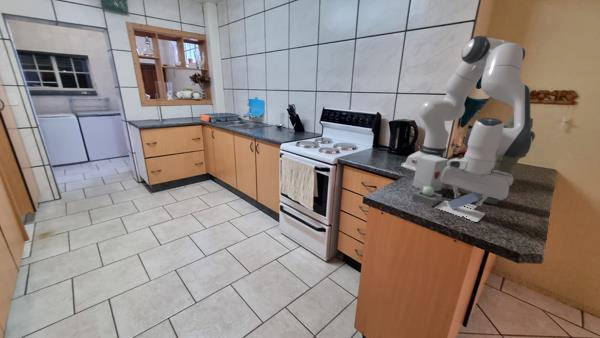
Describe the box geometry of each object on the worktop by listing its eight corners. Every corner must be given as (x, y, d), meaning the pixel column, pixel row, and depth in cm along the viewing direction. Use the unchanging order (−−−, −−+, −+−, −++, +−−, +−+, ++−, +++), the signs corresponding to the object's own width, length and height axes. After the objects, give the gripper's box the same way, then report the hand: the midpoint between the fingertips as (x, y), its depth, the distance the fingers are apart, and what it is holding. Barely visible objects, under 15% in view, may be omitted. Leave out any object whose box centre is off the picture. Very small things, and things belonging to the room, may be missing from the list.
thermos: (506, 207, 96) (549, 120, 84) (473, 200, 99) (510, 114, 87) (496, 198, 105) (534, 117, 92) (466, 191, 107) (499, 112, 95)
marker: (447, 202, 93) (473, 192, 86) (451, 200, 95) (476, 190, 87) (452, 209, 92) (478, 200, 85) (455, 207, 94) (481, 198, 86)
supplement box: (429, 193, 107) (436, 161, 103) (412, 186, 115) (417, 156, 110) (441, 190, 111) (449, 159, 107) (424, 183, 119) (430, 154, 114)
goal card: (456, 204, 98) (456, 203, 98) (460, 201, 100) (460, 200, 100) (473, 209, 94) (473, 208, 93) (476, 206, 96) (477, 206, 96)
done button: (420, 195, 100) (421, 187, 99) (424, 193, 102) (426, 185, 101) (430, 198, 97) (431, 190, 96) (434, 196, 99) (436, 188, 98)
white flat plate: (434, 208, 94) (434, 207, 94) (444, 201, 100) (445, 200, 100) (476, 223, 84) (476, 222, 84) (485, 214, 90) (485, 213, 90)
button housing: (412, 199, 101) (413, 193, 100) (421, 195, 106) (422, 188, 105) (431, 207, 95) (433, 200, 94) (440, 201, 100) (441, 195, 99)
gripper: (517, 172, 79) (505, 210, 83) (450, 157, 94) (442, 190, 98) (512, 176, 75) (499, 215, 79) (443, 160, 90) (435, 194, 94)
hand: (467, 201), depth 89 cm, fingers closed on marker, 6 cm apart
